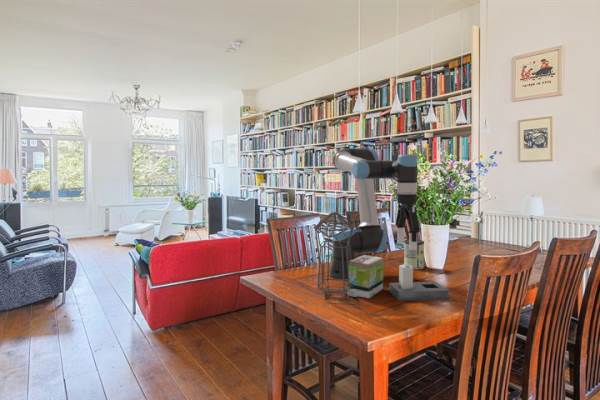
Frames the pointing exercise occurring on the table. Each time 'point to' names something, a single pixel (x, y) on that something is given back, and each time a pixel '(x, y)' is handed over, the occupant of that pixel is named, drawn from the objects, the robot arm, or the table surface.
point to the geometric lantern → (334, 247)
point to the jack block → (419, 291)
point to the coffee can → (414, 255)
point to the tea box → (365, 276)
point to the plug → (405, 276)
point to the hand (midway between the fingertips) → (406, 246)
